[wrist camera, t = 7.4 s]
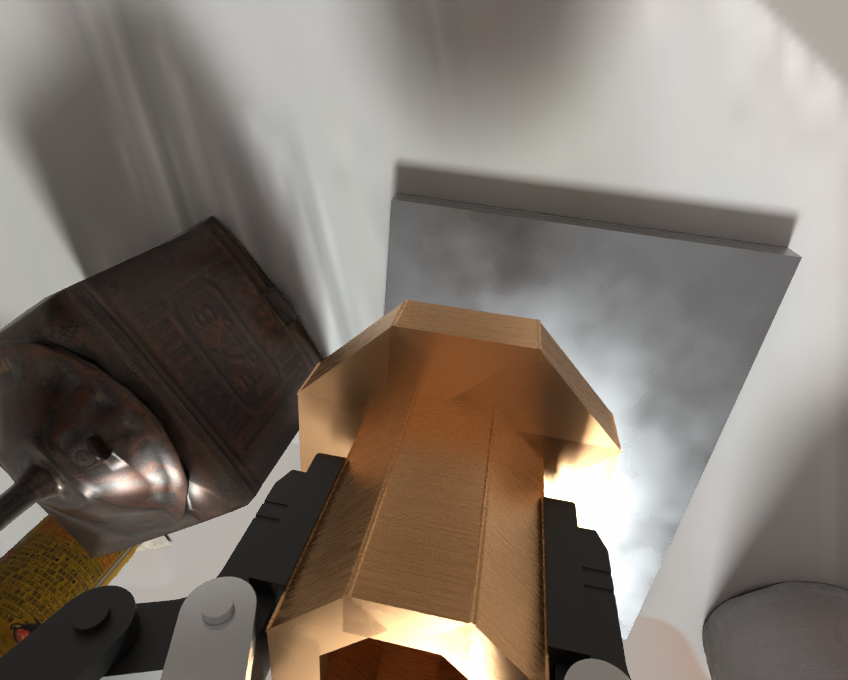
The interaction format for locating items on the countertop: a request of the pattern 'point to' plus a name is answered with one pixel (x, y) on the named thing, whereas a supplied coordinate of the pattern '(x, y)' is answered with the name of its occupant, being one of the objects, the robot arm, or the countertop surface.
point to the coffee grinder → (151, 392)
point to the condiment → (51, 577)
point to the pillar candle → (780, 634)
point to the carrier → (612, 338)
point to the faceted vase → (438, 498)
